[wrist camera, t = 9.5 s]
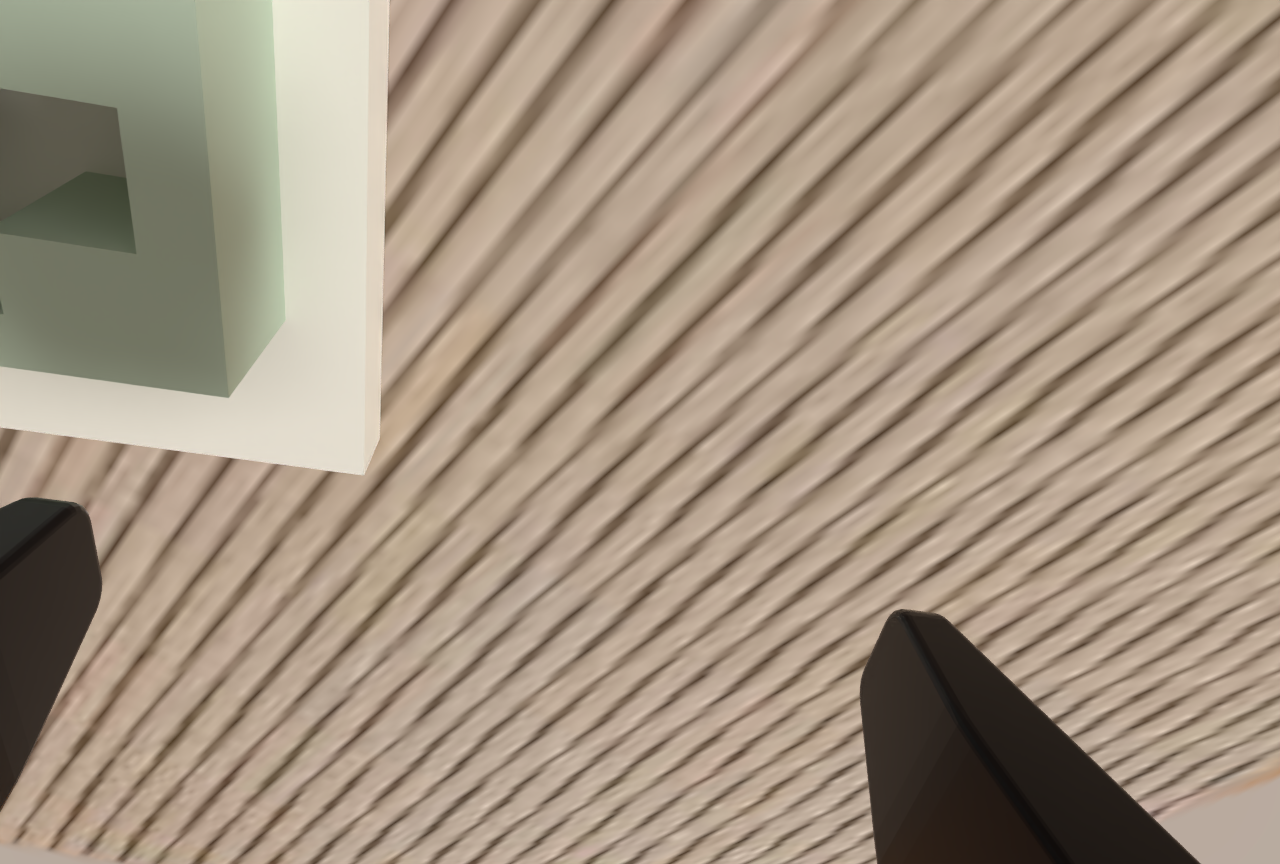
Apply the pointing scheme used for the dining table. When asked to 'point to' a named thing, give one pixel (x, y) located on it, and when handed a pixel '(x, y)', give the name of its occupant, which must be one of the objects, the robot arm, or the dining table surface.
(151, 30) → the panel
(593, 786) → the dining table surface
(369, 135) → the board
